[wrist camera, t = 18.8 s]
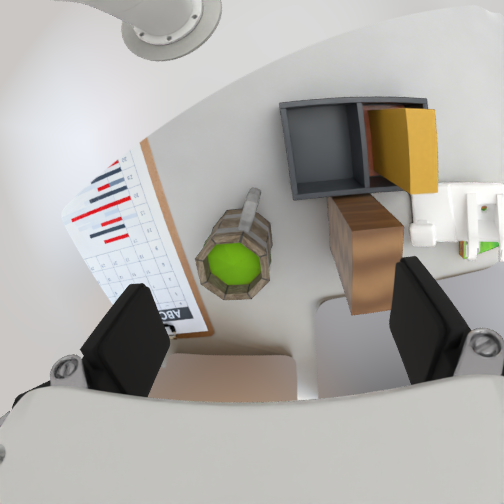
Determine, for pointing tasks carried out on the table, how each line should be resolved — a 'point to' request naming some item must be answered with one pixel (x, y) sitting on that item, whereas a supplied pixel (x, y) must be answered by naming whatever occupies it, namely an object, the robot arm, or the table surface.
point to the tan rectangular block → (365, 250)
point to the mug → (237, 253)
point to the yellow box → (406, 148)
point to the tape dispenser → (460, 216)
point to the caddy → (335, 145)
